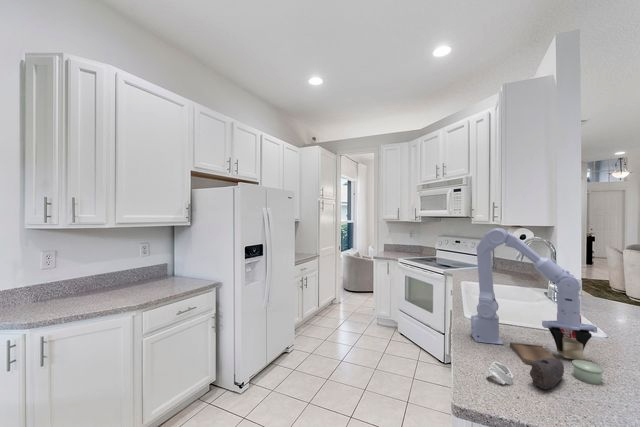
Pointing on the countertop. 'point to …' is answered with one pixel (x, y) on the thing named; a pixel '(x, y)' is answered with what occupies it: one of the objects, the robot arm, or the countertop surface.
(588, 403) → the countertop surface
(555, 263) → the robot arm
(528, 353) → the walnut board
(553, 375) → the perforated stone tool
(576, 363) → the green lidded container
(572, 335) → the soda can
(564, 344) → the beech block
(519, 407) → the countertop surface
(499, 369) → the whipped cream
